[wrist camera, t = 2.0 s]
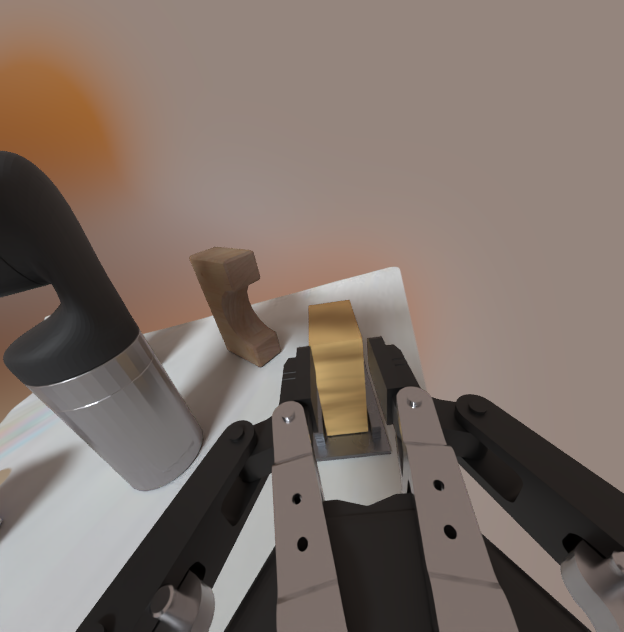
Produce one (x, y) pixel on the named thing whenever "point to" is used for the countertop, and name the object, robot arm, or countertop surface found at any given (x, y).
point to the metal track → (352, 434)
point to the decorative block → (235, 302)
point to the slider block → (338, 367)
